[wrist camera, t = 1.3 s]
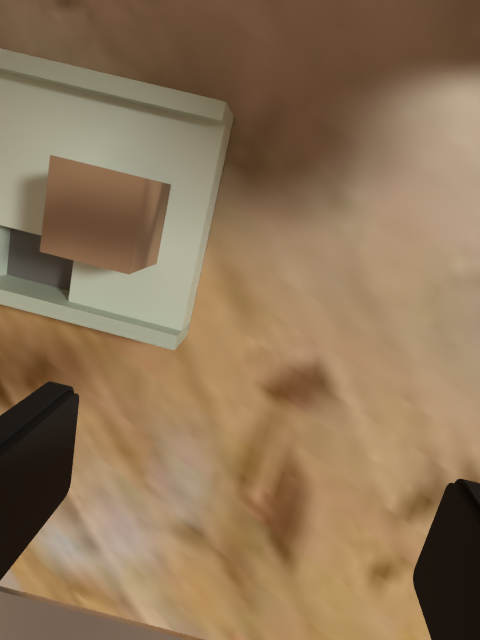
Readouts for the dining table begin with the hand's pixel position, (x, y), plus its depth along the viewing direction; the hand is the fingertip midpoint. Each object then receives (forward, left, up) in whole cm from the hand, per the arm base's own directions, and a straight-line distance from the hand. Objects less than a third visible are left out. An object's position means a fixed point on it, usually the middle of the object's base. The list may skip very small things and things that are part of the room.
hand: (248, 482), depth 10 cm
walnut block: (-4, -11, -18) cm, 21 cm away
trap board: (-4, -19, -20) cm, 28 cm away
